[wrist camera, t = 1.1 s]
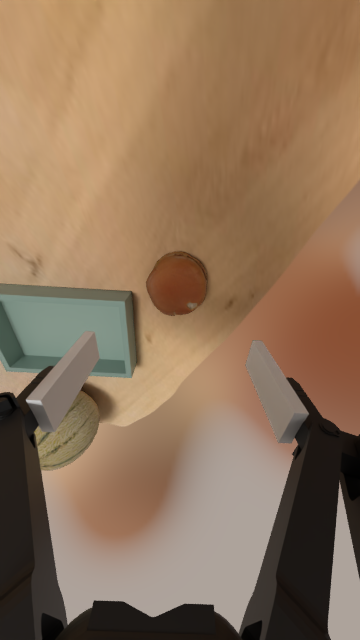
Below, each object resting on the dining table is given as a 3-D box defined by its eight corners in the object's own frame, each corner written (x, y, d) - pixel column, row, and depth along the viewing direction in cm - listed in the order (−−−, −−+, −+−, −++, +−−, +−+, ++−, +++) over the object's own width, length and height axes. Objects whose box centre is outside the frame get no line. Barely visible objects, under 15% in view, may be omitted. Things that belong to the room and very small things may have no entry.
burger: (164, 240, 28) (161, 244, 24) (216, 268, 30) (221, 276, 26) (141, 294, 33) (135, 305, 29) (188, 316, 35) (188, 329, 31)
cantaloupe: (119, 408, 47) (95, 481, 34) (72, 420, 50) (32, 492, 37) (85, 367, 41) (39, 437, 28) (33, 383, 44) (-32, 454, 31)
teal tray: (-9, 283, 32) (-36, 292, 28) (131, 291, 32) (124, 301, 28) (23, 356, 40) (6, 371, 36) (136, 362, 40) (131, 377, 36)
